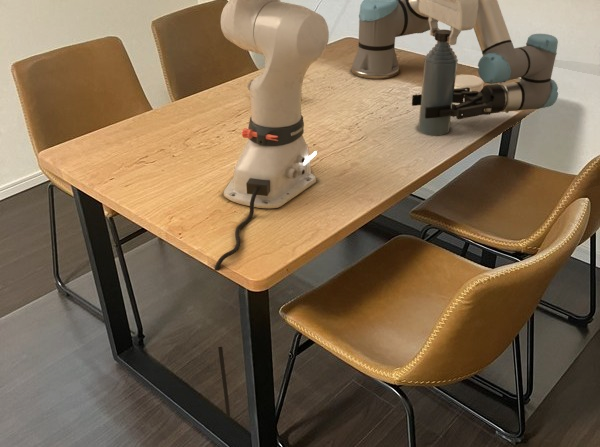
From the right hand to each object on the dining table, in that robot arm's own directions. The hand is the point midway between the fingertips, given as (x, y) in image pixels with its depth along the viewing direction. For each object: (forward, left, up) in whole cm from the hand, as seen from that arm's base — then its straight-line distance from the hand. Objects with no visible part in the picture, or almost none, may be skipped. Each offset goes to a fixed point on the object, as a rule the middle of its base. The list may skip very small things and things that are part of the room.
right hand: (419, 106), depth 160 cm
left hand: (0, +5, +17) cm, 17 cm away
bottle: (0, +5, -7) cm, 8 cm away
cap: (0, +5, +19) cm, 19 cm away
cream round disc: (-24, +25, -7) cm, 35 cm away
